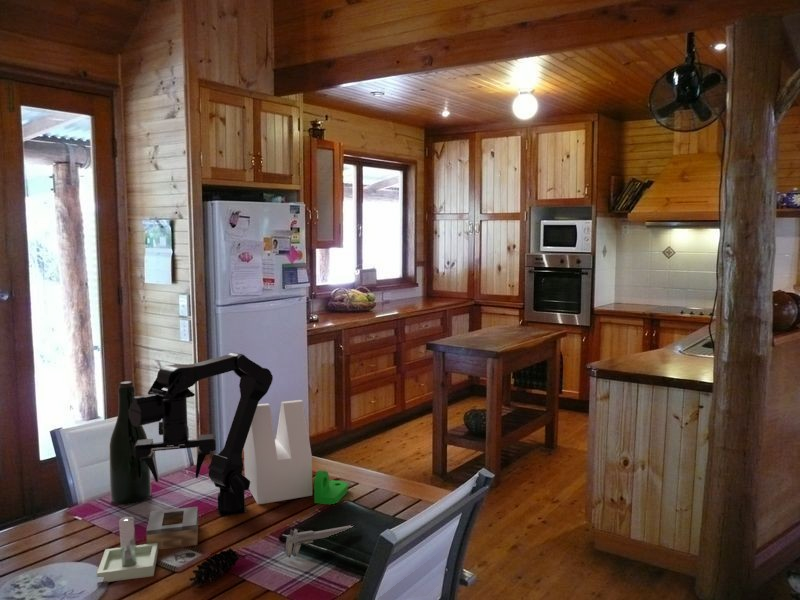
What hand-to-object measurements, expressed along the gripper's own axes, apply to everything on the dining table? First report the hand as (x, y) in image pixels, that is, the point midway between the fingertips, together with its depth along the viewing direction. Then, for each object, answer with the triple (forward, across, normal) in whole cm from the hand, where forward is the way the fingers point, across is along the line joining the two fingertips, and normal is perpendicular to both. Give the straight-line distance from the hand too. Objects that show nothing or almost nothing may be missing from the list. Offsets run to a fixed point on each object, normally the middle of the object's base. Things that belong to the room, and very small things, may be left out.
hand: (177, 479), depth 159 cm
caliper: (+14, -34, +18) cm, 40 cm away
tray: (+13, +10, +16) cm, 23 cm away
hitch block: (+13, +1, +4) cm, 14 cm away
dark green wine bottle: (+13, +14, -25) cm, 32 cm away
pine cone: (+16, -15, +21) cm, 31 cm away
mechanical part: (+13, -40, -12) cm, 44 cm away
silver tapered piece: (+12, +9, +16) cm, 22 cm away
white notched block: (+13, -26, -22) cm, 36 cm away
